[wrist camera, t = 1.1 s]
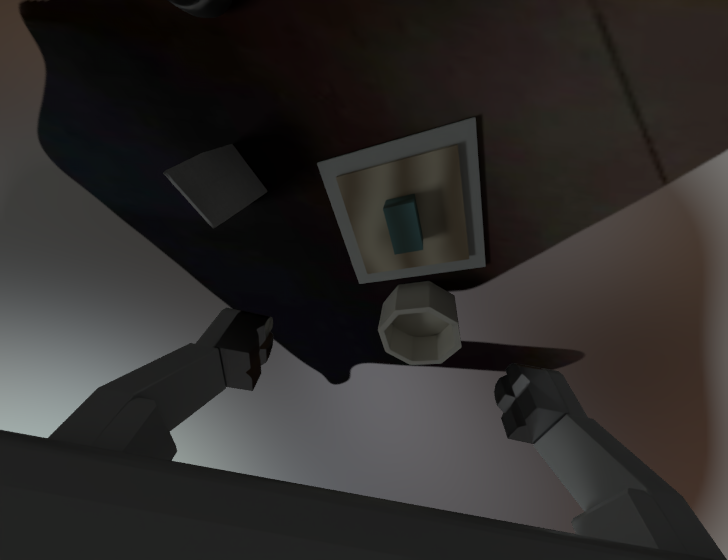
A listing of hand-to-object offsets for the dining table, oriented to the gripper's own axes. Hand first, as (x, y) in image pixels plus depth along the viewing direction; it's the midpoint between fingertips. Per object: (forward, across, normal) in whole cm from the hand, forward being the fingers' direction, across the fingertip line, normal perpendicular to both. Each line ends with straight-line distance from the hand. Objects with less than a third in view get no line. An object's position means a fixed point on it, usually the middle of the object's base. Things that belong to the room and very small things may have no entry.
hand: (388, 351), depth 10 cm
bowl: (+28, -9, +21) cm, 36 cm away
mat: (+28, -3, +6) cm, 29 cm away
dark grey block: (+30, +19, +6) cm, 37 cm away
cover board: (+28, -3, +6) cm, 29 cm away
